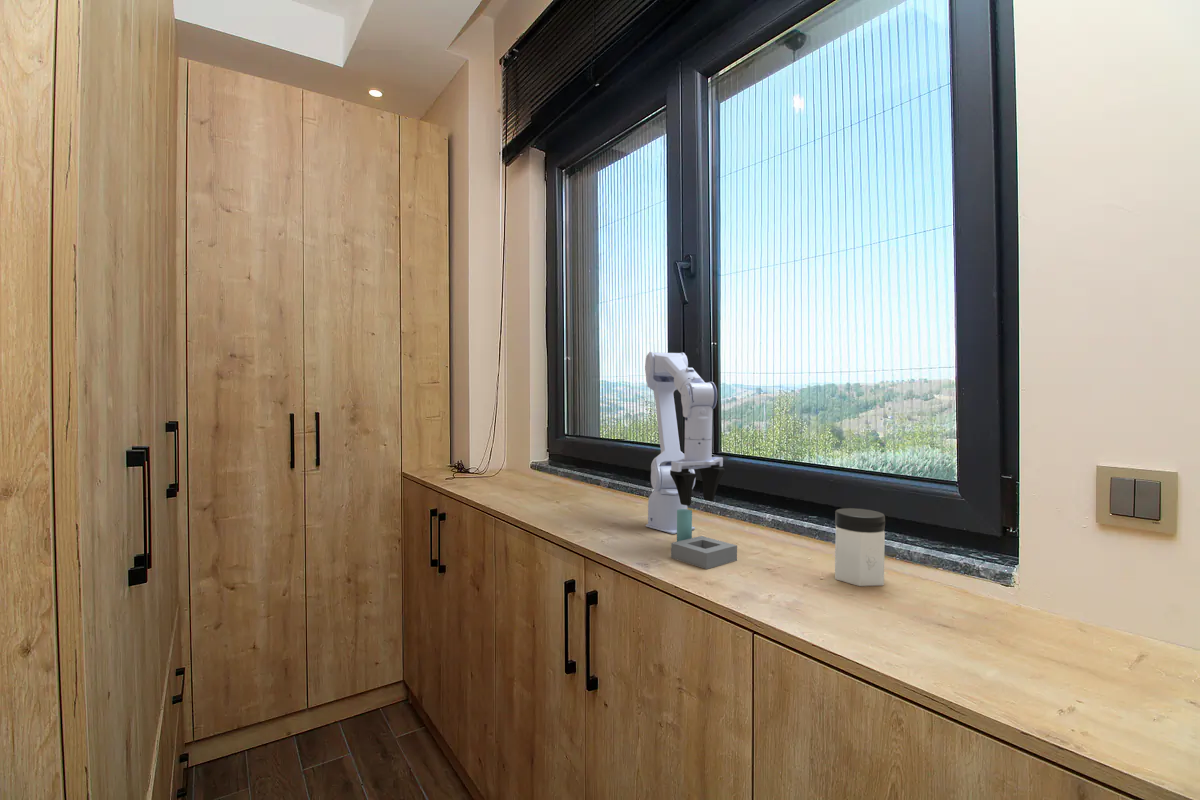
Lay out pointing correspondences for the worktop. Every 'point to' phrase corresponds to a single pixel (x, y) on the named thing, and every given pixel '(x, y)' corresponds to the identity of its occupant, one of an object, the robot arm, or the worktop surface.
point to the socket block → (704, 552)
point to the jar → (859, 546)
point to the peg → (684, 524)
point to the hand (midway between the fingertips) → (697, 502)
